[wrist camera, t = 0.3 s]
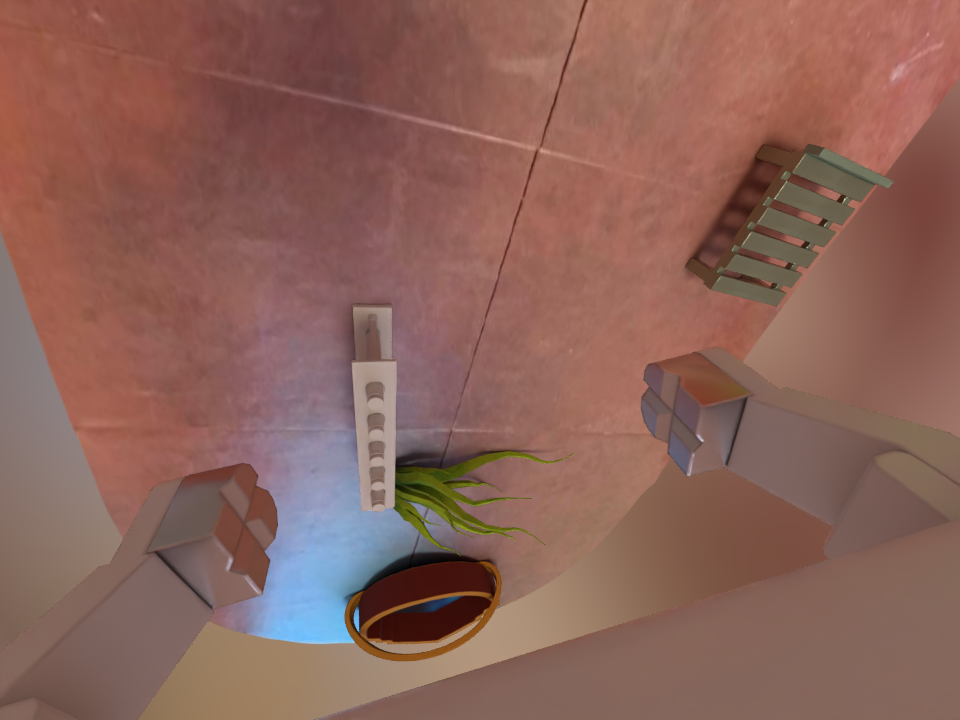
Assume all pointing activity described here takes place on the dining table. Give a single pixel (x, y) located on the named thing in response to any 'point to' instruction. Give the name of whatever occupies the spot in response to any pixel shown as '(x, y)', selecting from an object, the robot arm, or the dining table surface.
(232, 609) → the dining table surface
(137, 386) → the dining table surface
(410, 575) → the decorative basket
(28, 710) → the robot arm
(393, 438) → the test tube rack
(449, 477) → the decorative plant
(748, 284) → the rack
